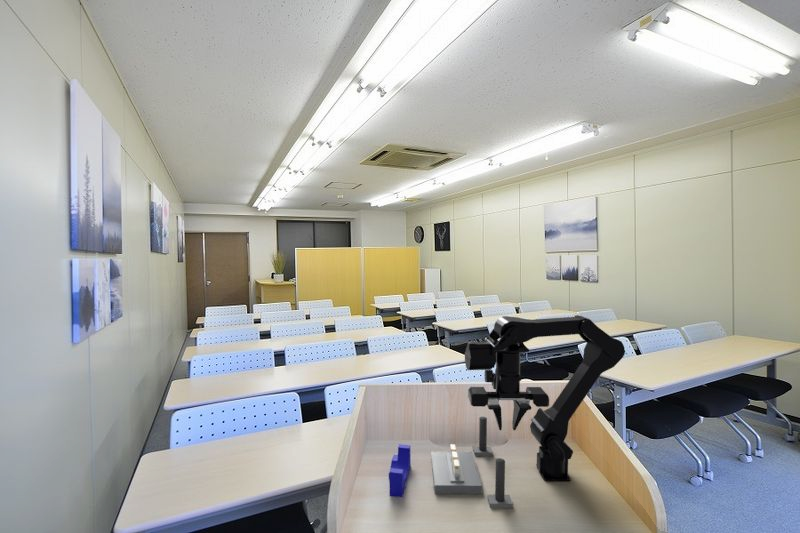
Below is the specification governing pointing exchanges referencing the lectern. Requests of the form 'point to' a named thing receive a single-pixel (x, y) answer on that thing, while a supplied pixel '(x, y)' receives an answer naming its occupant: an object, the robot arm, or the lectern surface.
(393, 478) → the cable clip
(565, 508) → the lectern surface
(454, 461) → the breaker paddles
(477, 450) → the grey post on base
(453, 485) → the breaker panel
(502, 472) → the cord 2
